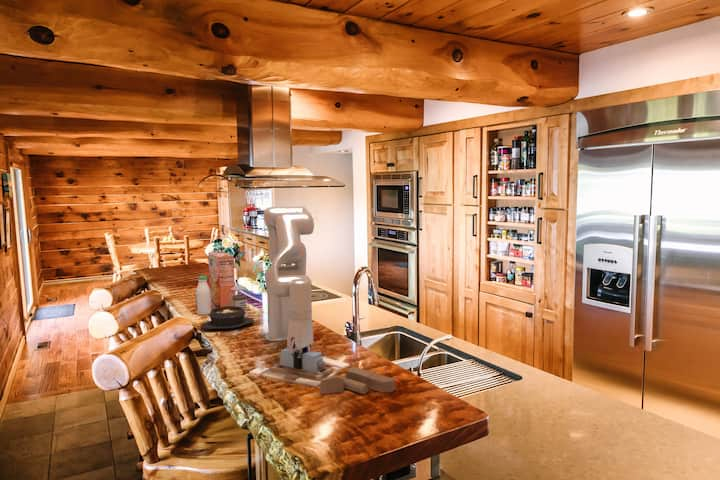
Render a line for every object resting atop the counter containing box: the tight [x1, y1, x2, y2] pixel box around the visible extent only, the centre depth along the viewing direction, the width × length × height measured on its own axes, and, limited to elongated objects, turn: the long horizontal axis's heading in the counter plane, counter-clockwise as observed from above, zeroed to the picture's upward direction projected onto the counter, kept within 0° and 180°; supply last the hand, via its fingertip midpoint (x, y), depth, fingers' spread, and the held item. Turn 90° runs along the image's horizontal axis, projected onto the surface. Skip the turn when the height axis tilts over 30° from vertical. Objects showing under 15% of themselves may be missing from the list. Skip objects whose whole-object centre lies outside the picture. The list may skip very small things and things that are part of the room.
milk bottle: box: [195, 275, 212, 316], centre depth 256 cm, size 8×8×20 cm
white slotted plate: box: [249, 360, 270, 377], centre depth 172 cm, size 6×4×4 cm, turn 153°
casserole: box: [200, 306, 255, 331], centre depth 231 cm, size 25×19×8 cm
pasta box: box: [208, 251, 236, 309], centre depth 269 cm, size 23×8×30 cm, turn 30°
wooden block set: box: [320, 366, 396, 395], centre depth 154 cm, size 17×6×18 cm
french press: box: [229, 266, 250, 317], centre depth 253 cm, size 10×12×25 cm
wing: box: [322, 356, 351, 370], centre depth 181 cm, size 4×16×1 cm, turn 52°
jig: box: [261, 362, 342, 388], centre depth 170 cm, size 16×22×2 cm
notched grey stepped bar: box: [279, 347, 326, 372], centre depth 169 cm, size 16×4×6 cm, turn 63°
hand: (301, 365), depth 170 cm, fingers closed on notched grey stepped bar, 3 cm apart
